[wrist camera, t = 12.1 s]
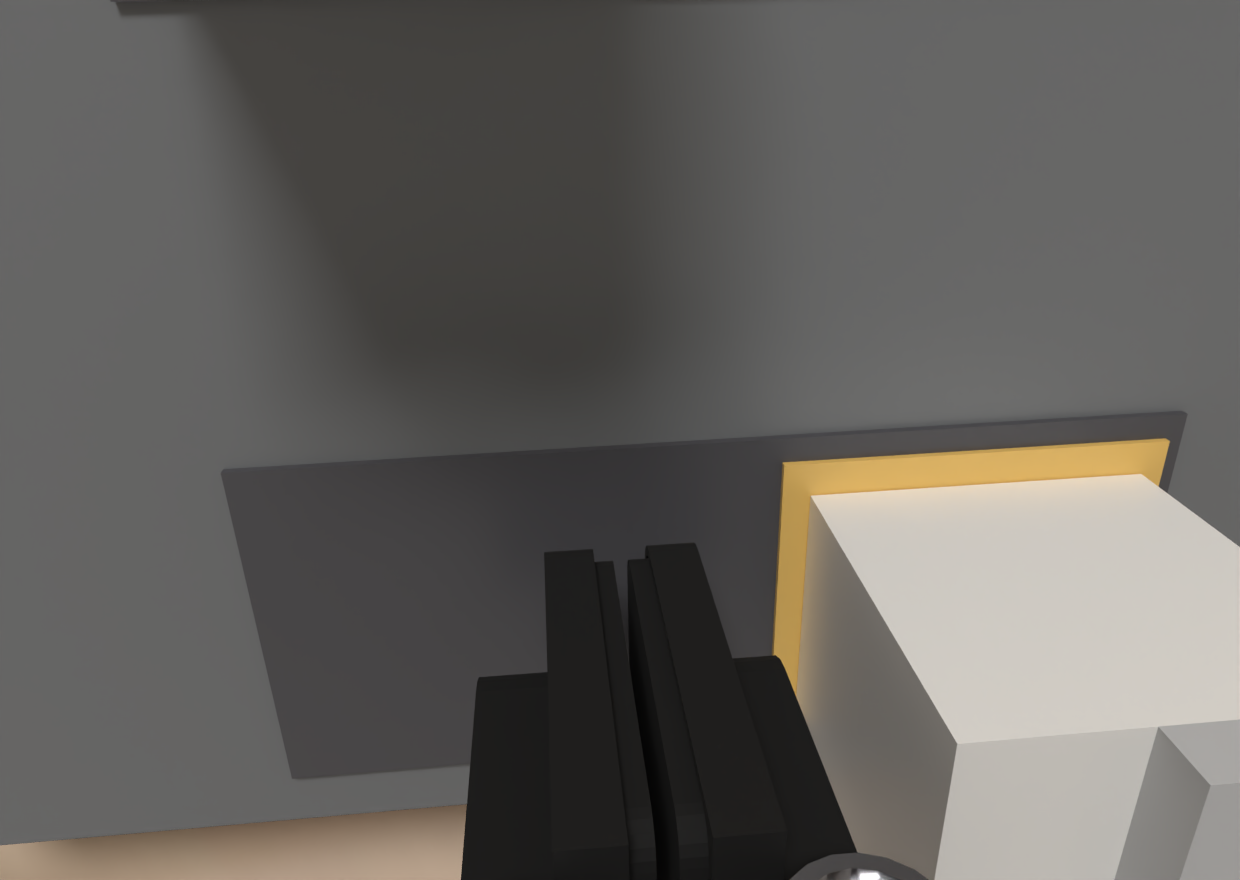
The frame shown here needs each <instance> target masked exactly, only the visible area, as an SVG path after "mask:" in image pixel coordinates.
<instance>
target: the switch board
mask: <svg viewBox="0 0 1240 880" xmlns="http://www.w3.org/2000/svg"><path fill="white" fill-rule="evenodd" d="M1132 474H1142V475H1143V476H1145V477H1146V478H1147V479H1149V480H1150V481H1152V482H1153V483H1154V484H1156V485H1157V486H1158V487H1160V488H1161V489H1162V490H1164V491H1165V492H1166V493H1168V494H1169V495H1170V496H1172V497H1173V498H1174V499H1176V500H1177V501H1178V502H1180V503H1181V504H1182V505H1184V506H1185V507H1187V508H1188V509H1189V510H1191V511H1192V512H1193V513H1195V514H1196V515H1197V516H1199V517H1200V518H1201V519H1203V520H1204V521H1205V522H1207V523H1208V524H1209V525H1211V526H1212V527H1213V528H1215V529H1216V530H1217V531H1219V532H1220V533H1222V534H1223V535H1224V536H1226V537H1227V538H1228V539H1230V540H1231V541H1232V542H1234V543H1235V544H1236V545H1238V546H1239V547H1240V0H0V845H8V844H20V843H31V842H42V841H54V840H65V839H76V838H88V837H99V836H110V835H122V834H133V833H144V832H156V831H167V830H178V829H190V828H201V827H212V826H224V825H235V824H247V823H258V822H269V821H281V820H292V819H303V818H315V817H326V816H337V815H349V814H360V813H371V812H383V811H394V810H405V809H417V808H428V807H439V806H451V805H462V804H467V798H468V785H469V773H470V760H471V747H472V735H473V722H474V710H475V697H476V687H477V681H478V678H479V677H488V676H501V675H515V674H528V673H542V672H547V640H546V604H545V568H544V552H552V551H568V550H583V549H593V553H594V561H595V562H599V561H613V563H614V569H615V576H616V582H617V589H618V595H619V602H620V608H621V615H622V621H623V628H624V634H625V641H626V647H627V654H628V660H629V637H628V585H627V562H628V560H630V559H645V548H646V545H661V544H677V543H692V542H694V543H695V544H696V546H697V548H698V551H699V554H700V558H701V561H702V564H703V567H704V570H705V573H706V577H707V580H708V583H709V586H710V589H711V592H712V595H713V599H714V602H715V605H716V608H717V611H718V614H719V617H720V621H721V624H722V627H723V630H724V633H725V636H726V639H727V643H728V646H729V649H730V652H731V655H732V658H745V657H758V656H772V655H776V656H777V657H778V658H780V660H781V661H782V663H783V665H784V667H785V670H786V672H787V675H788V677H789V680H790V682H791V685H792V687H793V690H794V692H795V695H796V694H797V680H798V665H799V651H800V637H801V623H802V609H803V595H804V581H805V567H806V553H807V539H808V525H809V511H810V497H811V496H813V495H828V494H843V493H858V492H874V491H889V490H904V489H919V488H934V487H949V486H965V485H980V484H995V483H1010V482H1025V481H1040V480H1056V479H1071V478H1086V477H1101V476H1116V475H1132Z"/></svg>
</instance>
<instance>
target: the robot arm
mask: <svg viewBox="0 0 1240 880" xmlns="http://www.w3.org/2000/svg"><path fill="white" fill-rule="evenodd" d="M544 568H545V604H546V640H547V672H542V673H528V674H515V675H501V676H488V677H479V678H478V681H477V687H476V697H475V710H474V722H473V735H472V747H471V760H470V773H469V785H468V798H467V811H466V823H465V836H464V848H463V861H462V874H461V880H928V879H927V878H926V877H924V876H923V875H922V874H920V873H919V872H917V871H916V870H915V869H912V868H910V867H908V866H905V865H903V864H901V863H898V862H896V861H894V860H891V859H889V858H886V857H881V856H875V855H869V854H863V853H858V852H857V850H856V847H855V845H854V842H853V840H852V837H851V835H850V832H849V830H848V827H847V824H846V822H845V819H844V817H843V814H842V812H841V809H840V807H839V804H838V802H837V799H836V797H835V794H834V791H833V789H832V786H831V784H830V781H829V779H828V776H827V774H826V771H825V769H824V766H823V764H822V761H821V758H820V756H819V753H818V751H817V748H816V746H815V743H814V741H813V738H812V736H811V733H810V731H809V728H808V725H807V723H806V720H805V718H804V715H803V713H802V710H801V708H800V705H799V703H798V700H797V698H796V695H795V692H794V690H793V687H792V685H791V682H790V680H789V677H788V675H787V672H786V670H785V667H784V665H783V663H782V661H781V660H780V658H778V657H777V656H776V655H772V656H758V657H745V658H732V655H731V652H730V649H729V646H728V643H727V639H726V636H725V633H724V630H723V627H722V624H721V621H720V617H719V614H718V611H717V608H716V605H715V602H714V599H713V595H712V592H711V589H710V586H709V583H708V580H707V577H706V573H705V570H704V567H703V564H702V561H701V558H700V554H699V551H698V548H697V546H696V544H695V543H694V542H692V543H677V544H661V545H646V548H645V559H630V560H628V562H627V585H628V637H629V660H628V654H627V647H626V641H625V634H624V628H623V621H622V615H621V608H620V602H619V595H618V589H617V582H616V576H615V569H614V563H613V561H599V562H595V561H594V553H593V549H583V550H568V551H552V552H544Z"/></svg>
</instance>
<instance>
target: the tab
mask: <svg viewBox="0 0 1240 880" xmlns="http://www.w3.org/2000/svg"><path fill="white" fill-rule="evenodd" d="M796 698H797V700H798V703H799V705H800V708H801V710H802V713H803V715H804V718H805V720H806V723H807V725H808V728H809V731H810V733H811V736H812V738H813V741H814V743H815V746H816V748H817V751H818V753H819V756H820V758H821V761H822V764H823V766H824V769H825V771H826V774H827V776H828V779H829V781H830V784H831V786H832V789H833V791H834V794H835V797H836V799H837V802H838V804H839V807H840V809H841V812H842V814H843V817H844V819H845V822H846V824H847V827H848V830H849V832H850V835H851V837H852V840H853V842H854V845H855V847H856V850H857V852H858V853H863V854H869V855H875V856H881V857H886V858H889V859H891V860H894V861H896V862H898V863H901V864H903V865H905V866H908V867H910V868H912V869H915V870H916V871H917V872H919V873H920V874H922V875H923V876H924V877H926V878H927V879H928V880H1240V547H1239V546H1238V545H1236V544H1235V543H1234V542H1232V541H1231V540H1230V539H1228V538H1227V537H1226V536H1224V535H1223V534H1222V533H1220V532H1219V531H1217V530H1216V529H1215V528H1213V527H1212V526H1211V525H1209V524H1208V523H1207V522H1205V521H1204V520H1203V519H1201V518H1200V517H1199V516H1197V515H1196V514H1195V513H1193V512H1192V511H1191V510H1189V509H1188V508H1187V507H1185V506H1184V505H1182V504H1181V503H1180V502H1178V501H1177V500H1176V499H1174V498H1173V497H1172V496H1170V495H1169V494H1168V493H1166V492H1165V491H1164V490H1162V489H1161V488H1160V487H1158V486H1157V485H1156V484H1154V483H1153V482H1152V481H1150V480H1149V479H1147V478H1146V477H1145V476H1143V475H1142V474H1132V475H1116V476H1101V477H1086V478H1071V479H1056V480H1040V481H1025V482H1010V483H995V484H980V485H965V486H949V487H934V488H919V489H904V490H889V491H874V492H858V493H843V494H828V495H813V496H811V497H810V511H809V525H808V539H807V553H806V567H805V581H804V595H803V609H802V623H801V637H800V651H799V665H798V680H797V694H796Z"/></svg>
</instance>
